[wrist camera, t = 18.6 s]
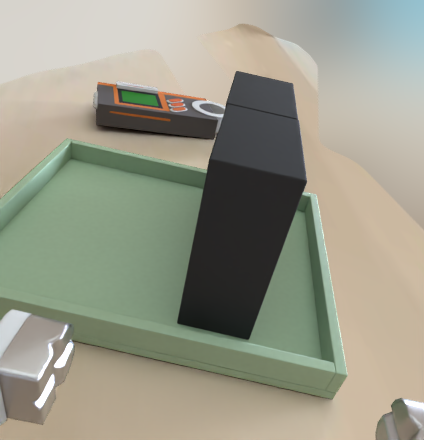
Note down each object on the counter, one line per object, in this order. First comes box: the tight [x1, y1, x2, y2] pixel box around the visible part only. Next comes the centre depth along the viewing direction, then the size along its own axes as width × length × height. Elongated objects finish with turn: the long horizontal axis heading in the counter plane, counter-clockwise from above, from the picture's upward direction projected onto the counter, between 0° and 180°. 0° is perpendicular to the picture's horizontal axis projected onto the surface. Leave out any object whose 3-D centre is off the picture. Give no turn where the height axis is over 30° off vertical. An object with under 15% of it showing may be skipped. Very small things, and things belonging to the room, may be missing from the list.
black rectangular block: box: [225, 71, 298, 120], centre depth 28 cm, size 4×7×10 cm, turn 173°
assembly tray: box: [0, 138, 347, 399], centre depth 27 cm, size 21×17×2 cm
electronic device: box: [93, 81, 225, 139], centre depth 44 cm, size 7×3×15 cm
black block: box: [177, 104, 307, 340], centre depth 22 cm, size 4×7×10 cm, turn 173°
